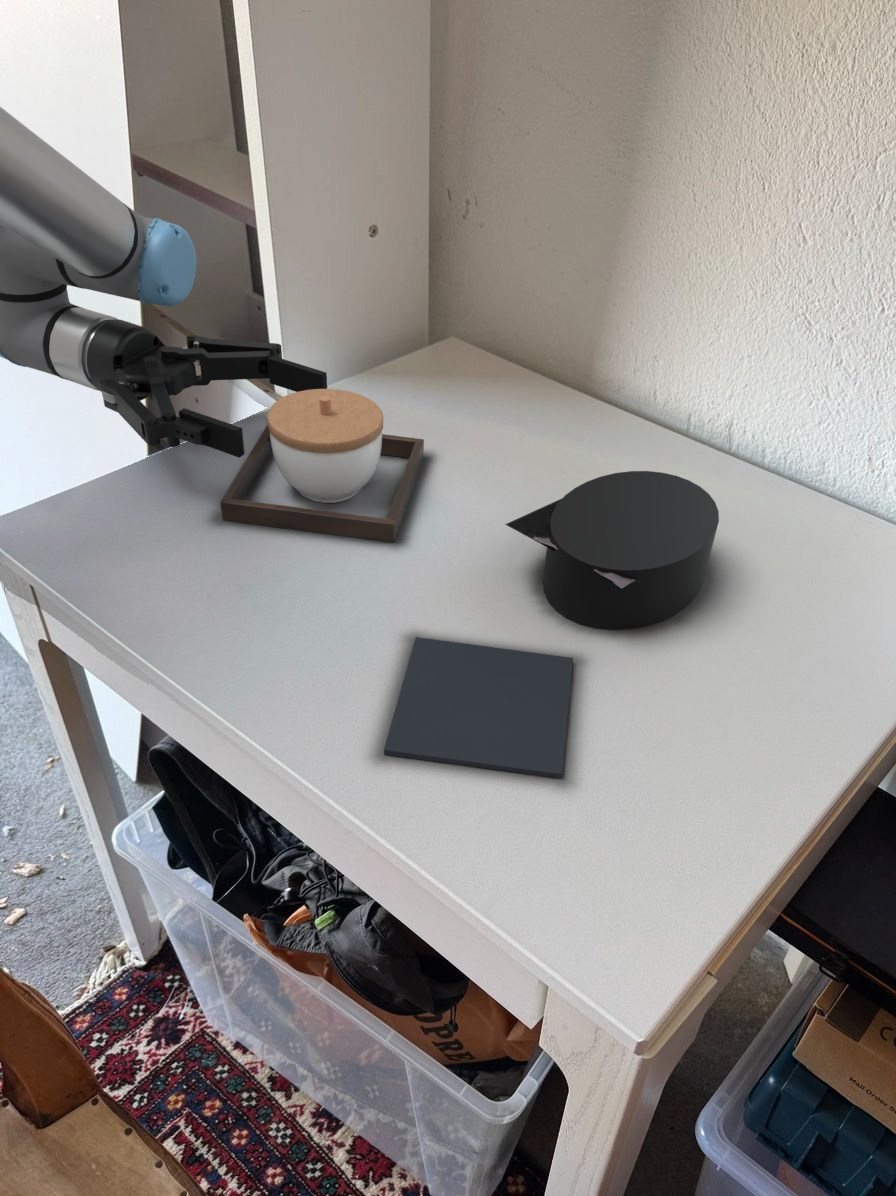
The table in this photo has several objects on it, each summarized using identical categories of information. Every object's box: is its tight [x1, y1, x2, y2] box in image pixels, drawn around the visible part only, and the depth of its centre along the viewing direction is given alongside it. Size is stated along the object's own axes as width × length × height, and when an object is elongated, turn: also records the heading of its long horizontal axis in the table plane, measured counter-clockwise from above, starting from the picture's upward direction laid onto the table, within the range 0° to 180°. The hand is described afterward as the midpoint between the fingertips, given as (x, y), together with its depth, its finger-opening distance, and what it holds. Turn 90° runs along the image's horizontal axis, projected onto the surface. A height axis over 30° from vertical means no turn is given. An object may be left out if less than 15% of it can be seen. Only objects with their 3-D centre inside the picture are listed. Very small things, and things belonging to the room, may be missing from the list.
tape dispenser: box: [504, 470, 720, 631], centre depth 90 cm, size 14×18×8 cm
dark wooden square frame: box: [219, 423, 425, 543], centre depth 99 cm, size 16×16×2 cm
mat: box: [383, 636, 574, 779], centre depth 78 cm, size 13×13×1 cm
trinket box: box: [266, 388, 384, 504], centre depth 96 cm, size 11×11×9 cm
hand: (285, 413), depth 96 cm, fingers open, 13 cm apart
